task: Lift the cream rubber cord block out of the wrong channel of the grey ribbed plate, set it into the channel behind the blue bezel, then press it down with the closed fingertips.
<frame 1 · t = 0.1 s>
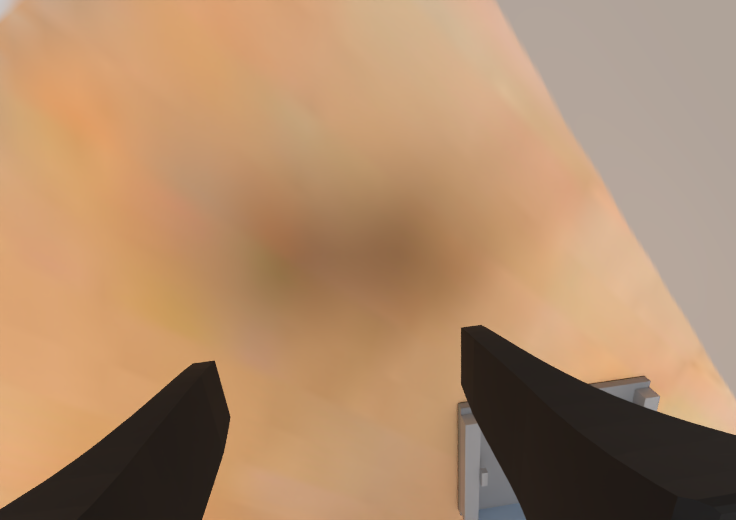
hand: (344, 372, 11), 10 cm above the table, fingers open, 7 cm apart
grey ribbed plate: (546, 445, 27), on the table
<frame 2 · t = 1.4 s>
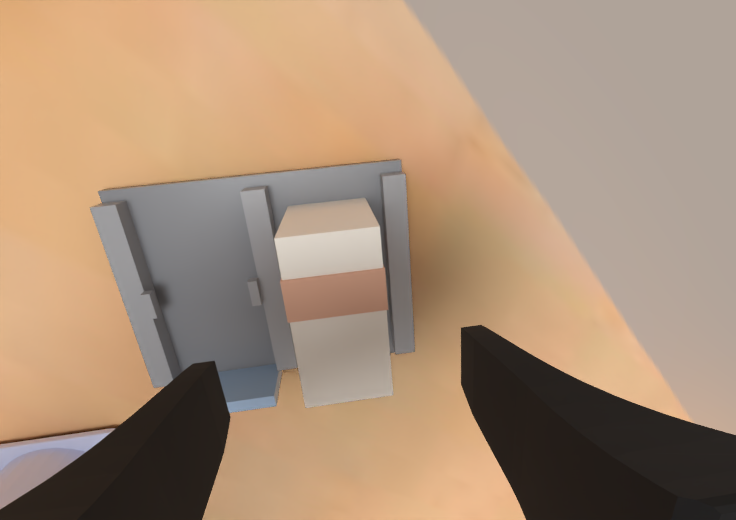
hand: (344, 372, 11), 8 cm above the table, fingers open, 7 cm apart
cord block: (336, 272, 18), resting on grey ribbed plate
grey ribbed plate: (275, 276, 19), on the table
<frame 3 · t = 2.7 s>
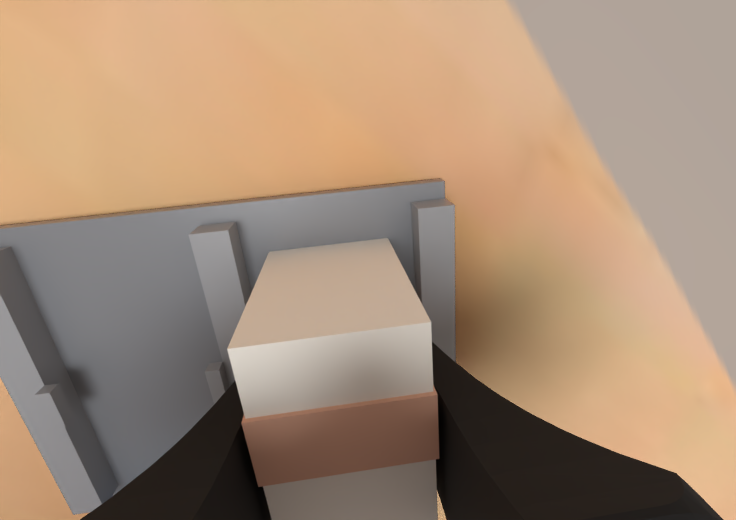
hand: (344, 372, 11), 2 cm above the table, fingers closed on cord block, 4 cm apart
cord block: (342, 345, 12), resting on grey ribbed plate, touching gripper
grey ribbed plate: (252, 349, 13), on the table
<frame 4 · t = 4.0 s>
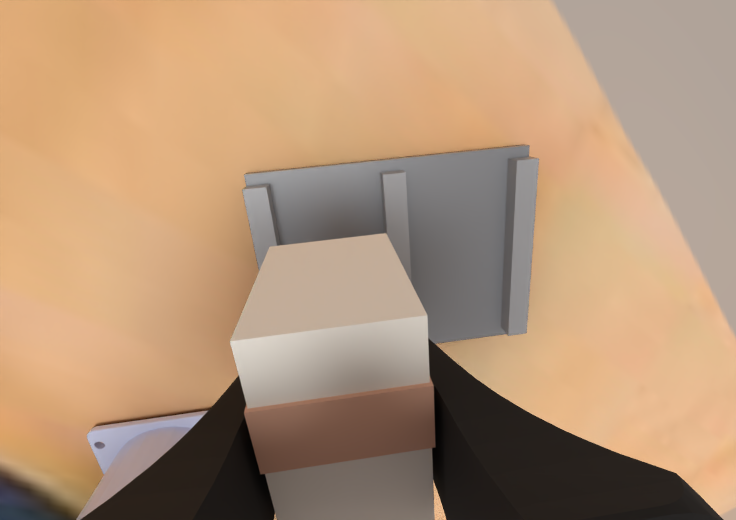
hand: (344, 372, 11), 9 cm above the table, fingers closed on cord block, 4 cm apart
cord block: (341, 339, 13), point 7 cm above the table, touching gripper
grey ribbed plate: (395, 259, 19), on the table
when the fingers open (3 cm above the table, at t = 5.3 s): cord block stays where it is, resting on grey ribbed plate.
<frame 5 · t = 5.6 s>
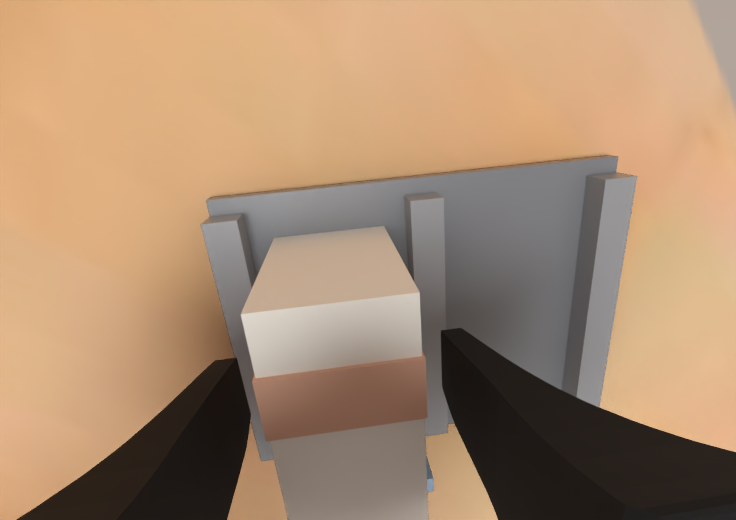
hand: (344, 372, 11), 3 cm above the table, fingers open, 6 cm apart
cord block: (341, 327, 13), resting on grey ribbed plate
grey ribbed plate: (421, 312, 14), on the table
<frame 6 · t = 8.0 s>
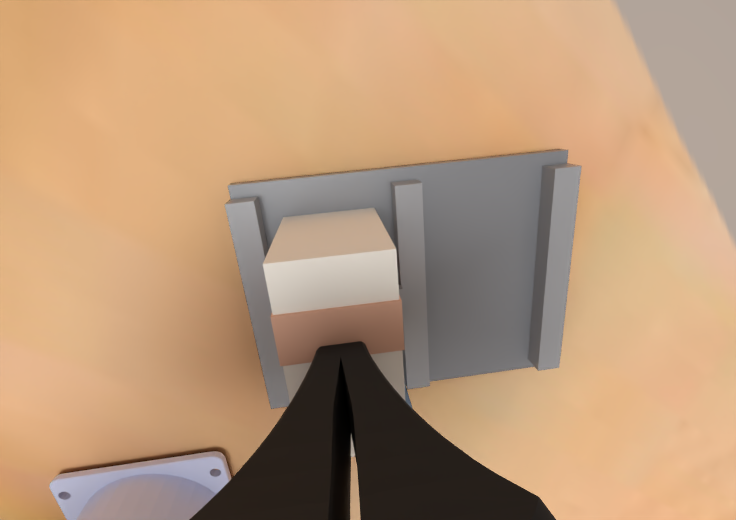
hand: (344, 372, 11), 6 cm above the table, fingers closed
cord block: (339, 294, 16), resting on grey ribbed plate
grey ribbed plate: (407, 282, 16), on the table
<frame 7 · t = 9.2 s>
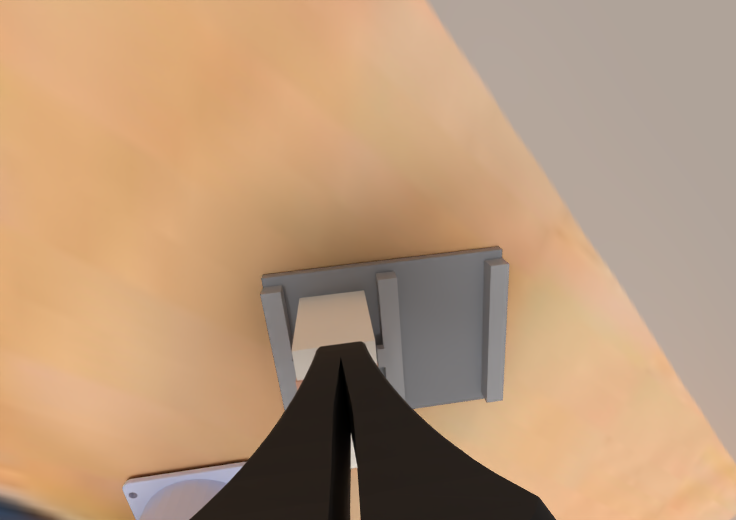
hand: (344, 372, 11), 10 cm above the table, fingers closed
cord block: (339, 348, 22), resting on grey ribbed plate
grey ribbed plate: (389, 338, 22), on the table
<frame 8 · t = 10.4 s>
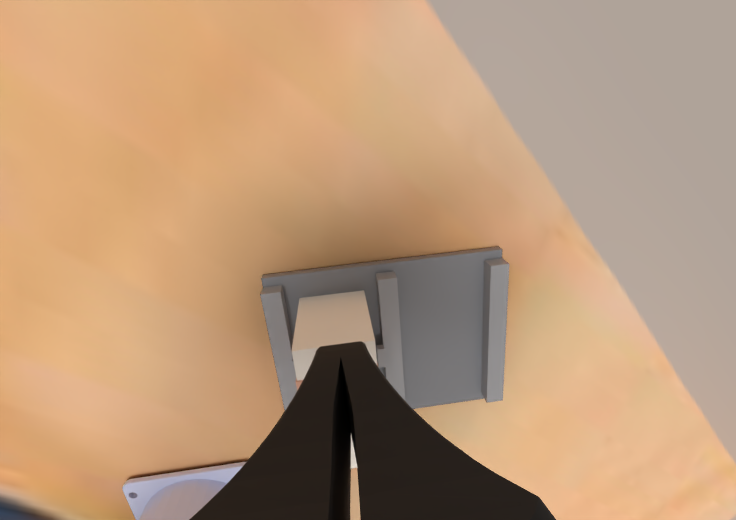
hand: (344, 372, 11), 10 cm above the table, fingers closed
cord block: (339, 348, 22), resting on grey ribbed plate
grey ribbed plate: (389, 338, 22), on the table
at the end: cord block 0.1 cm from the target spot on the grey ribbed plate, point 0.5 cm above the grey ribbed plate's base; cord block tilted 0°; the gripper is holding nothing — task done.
